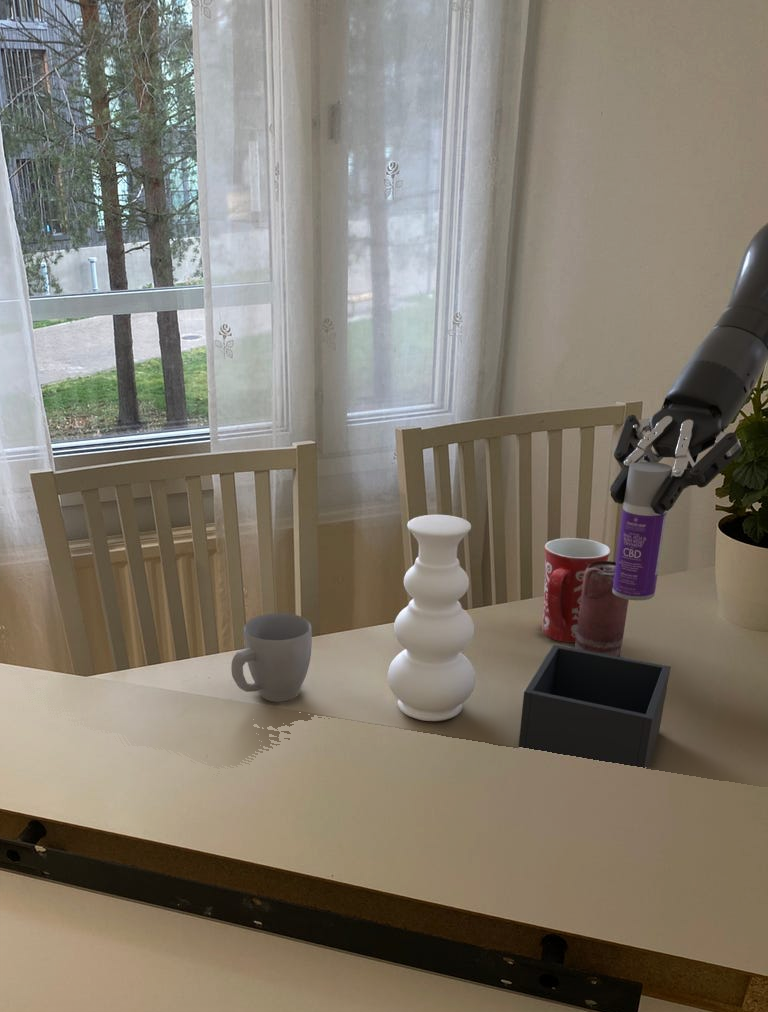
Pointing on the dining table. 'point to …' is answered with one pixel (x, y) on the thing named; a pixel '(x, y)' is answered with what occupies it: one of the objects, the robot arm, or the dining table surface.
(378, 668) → the dining table surface
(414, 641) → the vase
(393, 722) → the dining table surface
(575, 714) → the bin
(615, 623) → the can
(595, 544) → the mug
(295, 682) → the mug
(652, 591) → the container
